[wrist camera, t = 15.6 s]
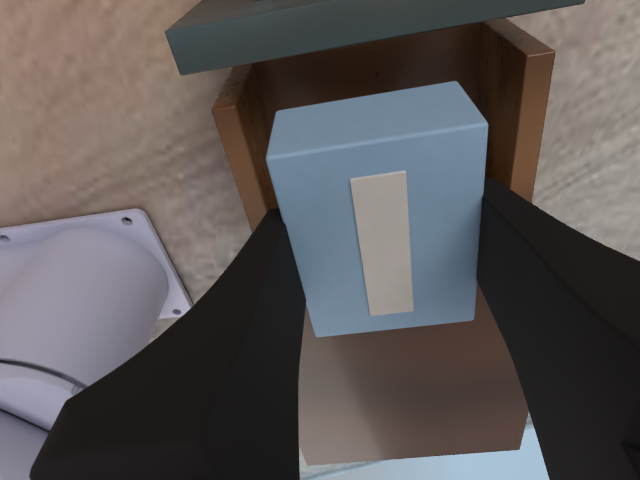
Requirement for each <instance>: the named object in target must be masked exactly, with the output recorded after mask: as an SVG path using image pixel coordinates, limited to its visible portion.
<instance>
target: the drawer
mask: <svg viewBox="0 0 640 480" xmlns="http://www.w3.org/2000/svg"><path fill="white" fill-rule="evenodd" d="M584 2H585V0H202V1H200V2H199V3H198V4H197V5H196V6H195V7H193V8H192V9H191V10H190V11H189V12H188V13H186V14H185V15H184V16H183V17H182V18H181V19H179V20H178V21H177V22H176V23H175V24H174V25H172V26H171V27H170V28H169V29H168V30H167V31H165V34H166V37H167V40H168V42H169V45H170V48H171V51H172V53H173V56H174V59H175V62H176V64H177V67H178V70H179V73H180V75H188V74H194V73H199V72H205V71H211V70H216V69H222V68H227V67H233V66H234V67H233V69H232V71H231V73H230V75H229V77H228V78H227V80H226V82H225V84H224V86H223V88H222V90H221V92H220V94H219V96H218V98H217V100H216V102H215V103H214V105H213V107H212V114H213V117H214V120H215V123H216V126H217V129H218V132H219V135H220V138H221V141H222V144H223V146H224V149H225V152H226V155H227V158H228V161H229V164H230V167H231V170H232V173H233V176H234V179H235V182H236V185H237V188H238V191H239V194H240V197H241V200H242V203H243V206H244V209H245V212H246V215H247V218H248V221H249V224H250V227H251V230H252V233H253V232H254V230H255V229H256V227H257V226H258V224H259V223H260V221H261V220H262V218H263V217H264V216H265V214H266V213H267V211H268V210H269V209H273V208H279V206H278V202H277V198H276V195H275V191H274V188H273V184H272V181H271V177H270V173H269V170H268V166H267V163H266V155H267V150H268V146H269V141H270V136H271V132H272V127H273V123H274V118H275V113H276V112H277V111H279V110H285V109H291V108H297V107H303V106H309V105H315V104H321V103H327V102H332V101H338V100H344V99H350V98H356V97H362V96H368V95H374V94H380V93H386V92H392V91H398V90H404V89H410V88H416V87H422V86H428V85H434V84H440V83H446V82H452V81H457V82H458V83H459V84H460V86H461V87H462V88H463V90H464V91H465V92H466V94H467V95H468V96H469V98H470V99H471V101H472V102H473V103H474V105H475V106H476V107H477V109H478V110H479V111H480V113H481V114H482V116H483V117H484V118H485V120H486V121H487V123H488V137H487V151H486V165H485V178H491V177H492V178H494V179H496V180H497V181H499V182H500V183H502V184H503V185H505V186H506V187H508V188H509V189H511V190H512V191H514V192H515V193H517V194H518V195H520V196H521V197H523V198H524V199H526V200H527V201H529V202H530V203H531V202H532V196H533V190H534V183H535V177H536V171H537V164H538V158H539V152H540V146H541V139H542V133H543V127H544V120H545V114H546V108H547V102H548V95H549V89H550V83H551V76H552V70H553V64H554V58H555V51H554V50H553V49H551V48H550V47H548V46H547V45H545V44H544V43H542V42H541V41H539V40H537V39H536V38H534V37H533V36H531V35H530V34H528V33H527V32H525V31H524V30H522V29H521V28H519V27H518V26H516V25H515V24H513V23H512V22H510V21H509V20H507V19H506V18H507V17H512V16H518V15H524V14H529V13H535V12H540V11H546V10H552V9H557V8H563V7H568V6H574V5H580V4H583V3H584Z"/></svg>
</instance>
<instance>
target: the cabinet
mask: <svg viewBox="0 0 640 480" xmlns="http://www.w3.org/2000/svg"><path fill="white" fill-rule="evenodd" d="M528 412H529V409H528V406H527V403H526V399H525V396H524V393H523V390H522V387H521V384H520V381H519V378H518V375H517V372H516V369H515V366H514V363H513V360H512V358H511V355H510V353H509V350H508V348H507V345H506V343H505V341H504V339H503V337H502V334H501V332H500V330H499V328H498V326H497V324H496V321H495V319H494V317H493V315H492V313H491V311H490V308H489V306H488V304H487V302H486V300H485V298H484V295H483V293H482V291H481V289H480V287H479V284H478V282H477V289H476V302H475V316H474V320H472V321H464V322H455V323H446V324H436V325H427V326H418V327H409V328H399V329H390V330H381V331H372V332H362V333H353V334H344V335H335V336H325V337H316V336H315V334H314V331H313V327H312V324H311V320H310V317H309V313H308V309H307V306H306V308H305V318H304V327H303V337H302V346H301V355H300V365H299V382H298V418H299V448H300V450H301V452H302V455H303V457H304V460H305V462H306V465H307V466H310V465H323V464H336V463H350V462H363V461H376V460H389V459H403V458H416V457H428V456H442V455H456V454H469V453H482V452H496V451H509V450H519V449H520V445H521V441H522V437H523V433H524V429H525V424H526V420H527V416H528Z"/></svg>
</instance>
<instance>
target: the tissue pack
mask: <svg viewBox="0 0 640 480" xmlns="http://www.w3.org/2000/svg"><path fill="white" fill-rule="evenodd" d="M487 137H488V123H487V121H486V120H485V118H484V117H483V116H482V114H481V113H480V111H479V110H478V109H477V107H476V106H475V105H474V103H473V102H472V101H471V99H470V98H469V96H468V95H467V94H466V92H465V91H464V90H463V88H462V87H461V86H460V84H459V83H458V82H457V81H452V82H446V83H440V84H434V85H428V86H422V87H416V88H410V89H404V90H398V91H392V92H386V93H380V94H374V95H368V96H362V97H356V98H350V99H344V100H338V101H332V102H327V103H321V104H315V105H309V106H303V107H297V108H291V109H285V110H279V111H277V112H276V113H275V118H274V123H273V127H272V132H271V136H270V141H269V146H268V150H267V155H266V163H267V166H268V170H269V173H270V177H271V181H272V184H273V188H274V191H275V195H276V198H277V202H278V206H279V209H280V213H281V216H282V220H283V223H285V224H286V228H287V232H288V235H289V239H290V243H291V246H292V250H293V253H294V257H295V261H296V264H297V268H298V272H299V275H300V279H301V282H302V286H303V290H304V293H305V297H306V306H307V309H308V313H309V317H310V320H311V324H312V327H313V331H314V334H315V336H316V337H325V336H335V335H344V334H353V333H362V332H372V331H381V330H390V329H399V328H409V327H418V326H427V325H436V324H446V323H455V322H464V321H472V320H474V316H475V302H476V289H477V280H476V277H477V263H478V249H479V235H480V221H481V207H482V196H483V192H484V179H485V165H486V151H487Z"/></svg>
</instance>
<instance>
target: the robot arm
mask: <svg viewBox="0 0 640 480" xmlns="http://www.w3.org/2000/svg"><path fill="white" fill-rule="evenodd" d="M125 217H127V218H129V219H131V220H132V221H128V220H126V218H125ZM6 236H7V237H6ZM476 280H477V282H478V284H479V287H480V289H481V291H482V293H483V295H484V298H485V300H486V302H487V304H488V306H489V308H490V311H491V313H492V315H493V317H494V319H495V321H496V324H497V326H498V328H499V330H500V332H501V334H502V337H503V339H504V341H505V343H506V345H507V348H508V350H509V353H510V355H511V358H512V360H513V363H514V366H515V369H516V372H517V375H518V378H519V381H520V384H521V387H522V390H523V393H524V396H525V399H526V403H527V406H528V409H529V412H530V415H531V418H532V422H533V425H534V428H535V431H536V434H537V438H538V441H539V444H540V448H541V452H542V455H543V458H544V462H545V465H546V469H547V472H548V475H549V479H550V480H640V261H638V260H636V259H633V258H631V257H629V256H627V255H624V254H622V253H620V252H618V251H616V250H614V249H611V248H609V247H607V246H605V245H603V244H601V243H599V242H597V241H595V240H593V239H591V238H589V237H587V236H585V235H584V234H582V233H580V232H578V231H576V230H574V229H573V228H571V227H569V226H567V225H565V224H564V223H562V222H560V221H559V220H557V219H555V218H554V217H552V216H550V215H549V214H547V213H546V212H544V211H543V210H541V209H539V208H538V207H536V206H535V205H533V204H532V203H530V202H529V201H527V200H526V199H524V198H523V197H521V196H520V195H518V194H517V193H515V192H514V191H512V190H511V189H509V188H508V187H506V186H505V185H503V184H502V183H500V182H499V181H497V180H496V179H494V178H492V177H491V178H485V179H484V192H483V196H482V207H481V221H480V235H479V249H478V263H477V277H476ZM305 308H306V297H305V293H304V290H303V286H302V282H301V279H300V275H299V272H298V268H297V264H296V261H295V257H294V253H293V250H292V246H291V243H290V239H289V235H288V232H287V228H286V224H285V223H283V220H282V216H281V213H280V209H279V208H273V209H269V210H268V211H267V213H266V214H265V216H264V217H263V218H262V220H261V221H260V223H259V224H258V226H257V227H256V229H255V230H254V232H253V233H252V235H251V236H250V238H249V239H248V241H247V242H246V243H245V245H244V246H243V248H242V249H241V250H240V252H239V253H238V255H237V256H236V257H235V259H234V260H233V261H232V263H231V264H230V265H229V266H228V268H227V269H226V270H225V271H224V273H223V274H222V275H221V276H220V277H219V279H218V280H217V281H216V282H215V283H214V285H213V286H212V287H211V288H210V289H209V290H208V291H207V292H206V293H205V294H204V295H203V296H202V297H201V298H200V299H199V300H198V301H197V303H196V304H195V305H194V306H193V304H192V302H191V300H190V298H189V296H188V294H187V292H186V290H185V288H184V286H183V284H182V282H181V280H180V278H179V276H178V274H177V272H176V270H175V268H174V266H173V264H172V262H171V261H170V259H169V257H168V255H167V253H166V251H165V249H164V247H163V245H162V243H161V241H160V239H159V237H158V235H157V233H156V231H155V229H154V227H153V225H152V223H151V221H150V219H149V217H148V215H147V214H146V213H145V212H144V211H143V210H141V209H135V208H134V209H127V210H120V211H113V212H107V213H100V214H93V215H86V216H79V217H72V218H66V219H59V220H52V221H45V222H38V223H31V224H25V225H18V226H11V227H4V228H0V480H300V474H299V418H298V382H299V365H300V355H301V346H302V337H303V327H304V318H305ZM177 309H178V310H177ZM174 317H181V318H179V319H178V320H177V321H176V322H175V323H174V324H173V325H171V326H170V327H169V328H168V329H167V330H166V331H165V332H163V333H162V334H161V335H160V336H159V337H158V338H156V339H155V340H154V341H153V342H151V343H150V344H149V341H150V339H151V336H152V334H153V331H154V329H155V326H156V323H157V321H158V319H165V318H174ZM148 344H149V345H148Z"/></svg>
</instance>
